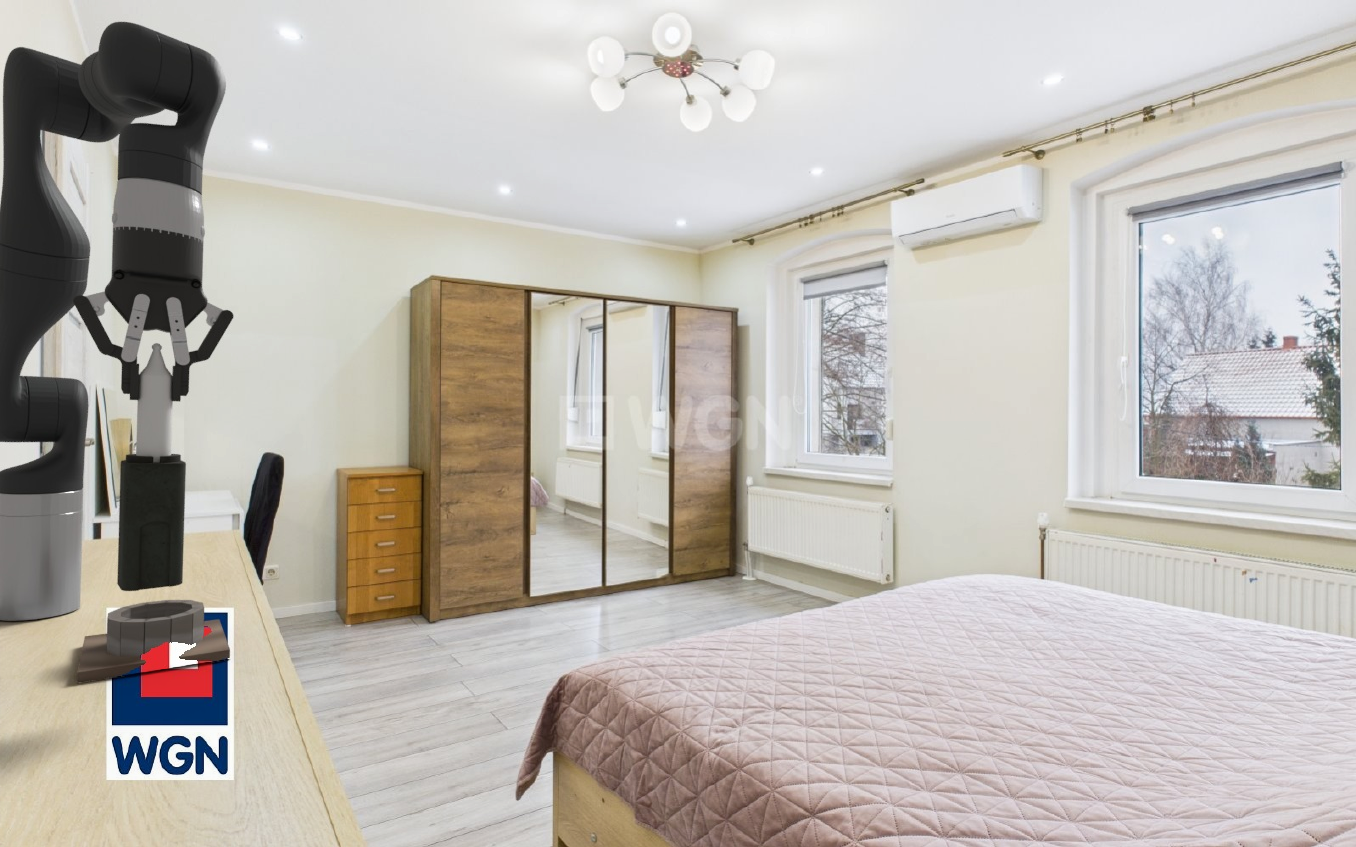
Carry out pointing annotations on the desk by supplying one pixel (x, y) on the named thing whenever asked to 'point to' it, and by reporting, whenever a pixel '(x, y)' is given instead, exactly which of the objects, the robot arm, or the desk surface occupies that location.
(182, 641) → the holder
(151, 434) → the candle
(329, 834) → the desk surface
